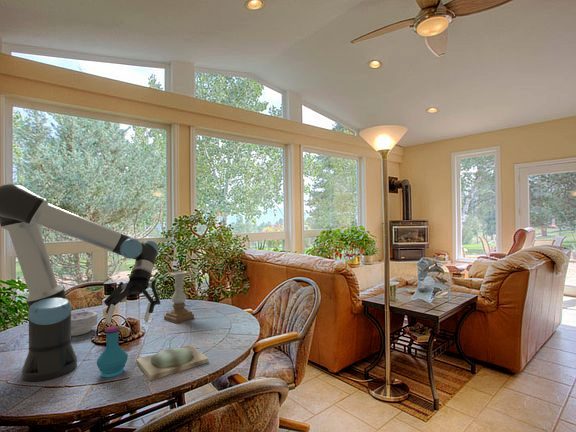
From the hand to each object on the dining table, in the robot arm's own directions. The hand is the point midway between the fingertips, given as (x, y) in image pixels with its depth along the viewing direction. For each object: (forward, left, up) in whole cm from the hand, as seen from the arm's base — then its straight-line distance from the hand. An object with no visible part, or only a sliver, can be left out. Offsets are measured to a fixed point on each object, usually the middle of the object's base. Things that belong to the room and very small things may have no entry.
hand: (126, 321), depth 118 cm
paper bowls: (-10, +45, -14) cm, 48 cm away
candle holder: (+33, +35, -14) cm, 50 cm away
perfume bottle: (-6, -8, -14) cm, 17 cm away
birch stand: (+12, -14, -14) cm, 23 cm away
